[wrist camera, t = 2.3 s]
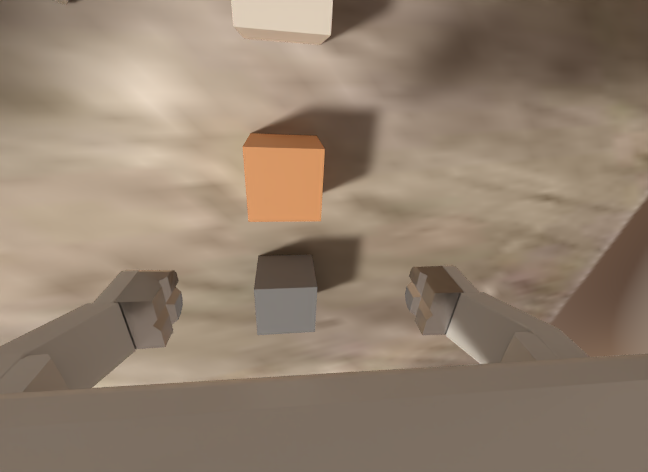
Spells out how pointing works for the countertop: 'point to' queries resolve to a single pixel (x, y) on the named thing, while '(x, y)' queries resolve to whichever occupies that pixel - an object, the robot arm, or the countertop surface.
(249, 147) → the terracotta cube
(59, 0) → the supplement box
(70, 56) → the countertop surface
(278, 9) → the offwhite cube
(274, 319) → the charcoal cube
